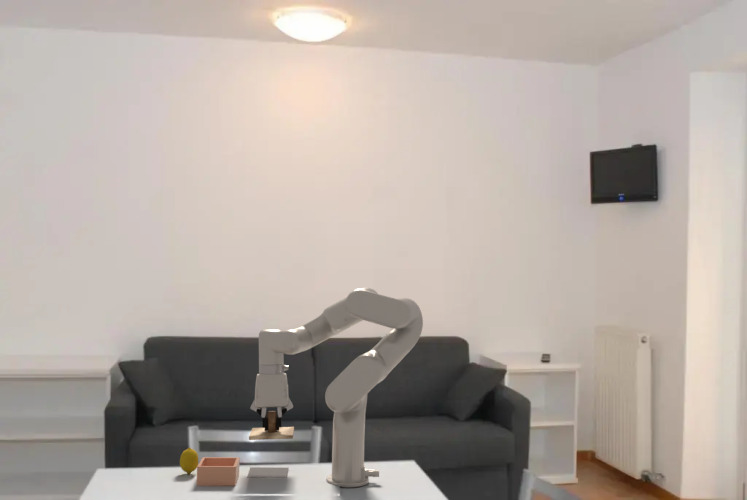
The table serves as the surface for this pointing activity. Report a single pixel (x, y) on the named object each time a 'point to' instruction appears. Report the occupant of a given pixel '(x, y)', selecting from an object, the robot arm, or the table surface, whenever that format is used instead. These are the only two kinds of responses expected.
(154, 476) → the table surface
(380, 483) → the table surface
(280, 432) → the lid
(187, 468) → the lemon
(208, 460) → the pink open box
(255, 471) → the mat
